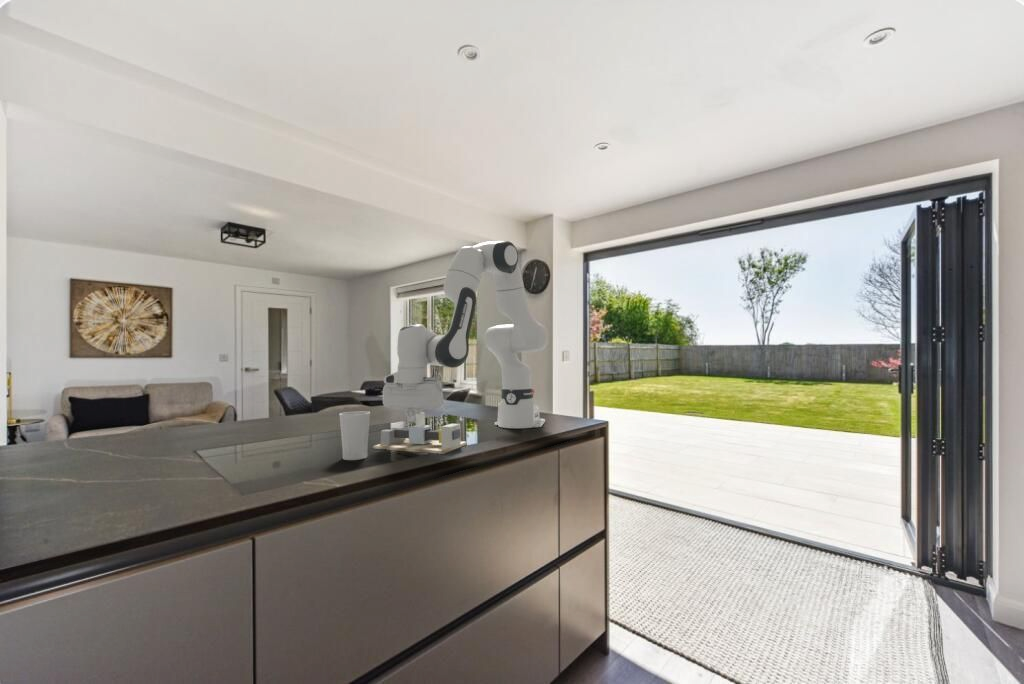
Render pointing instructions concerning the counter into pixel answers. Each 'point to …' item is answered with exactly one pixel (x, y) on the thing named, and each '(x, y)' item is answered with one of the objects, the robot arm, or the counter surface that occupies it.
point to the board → (418, 447)
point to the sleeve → (419, 430)
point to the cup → (354, 434)
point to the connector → (450, 435)
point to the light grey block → (390, 436)
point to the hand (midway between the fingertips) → (413, 422)
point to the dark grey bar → (428, 434)
